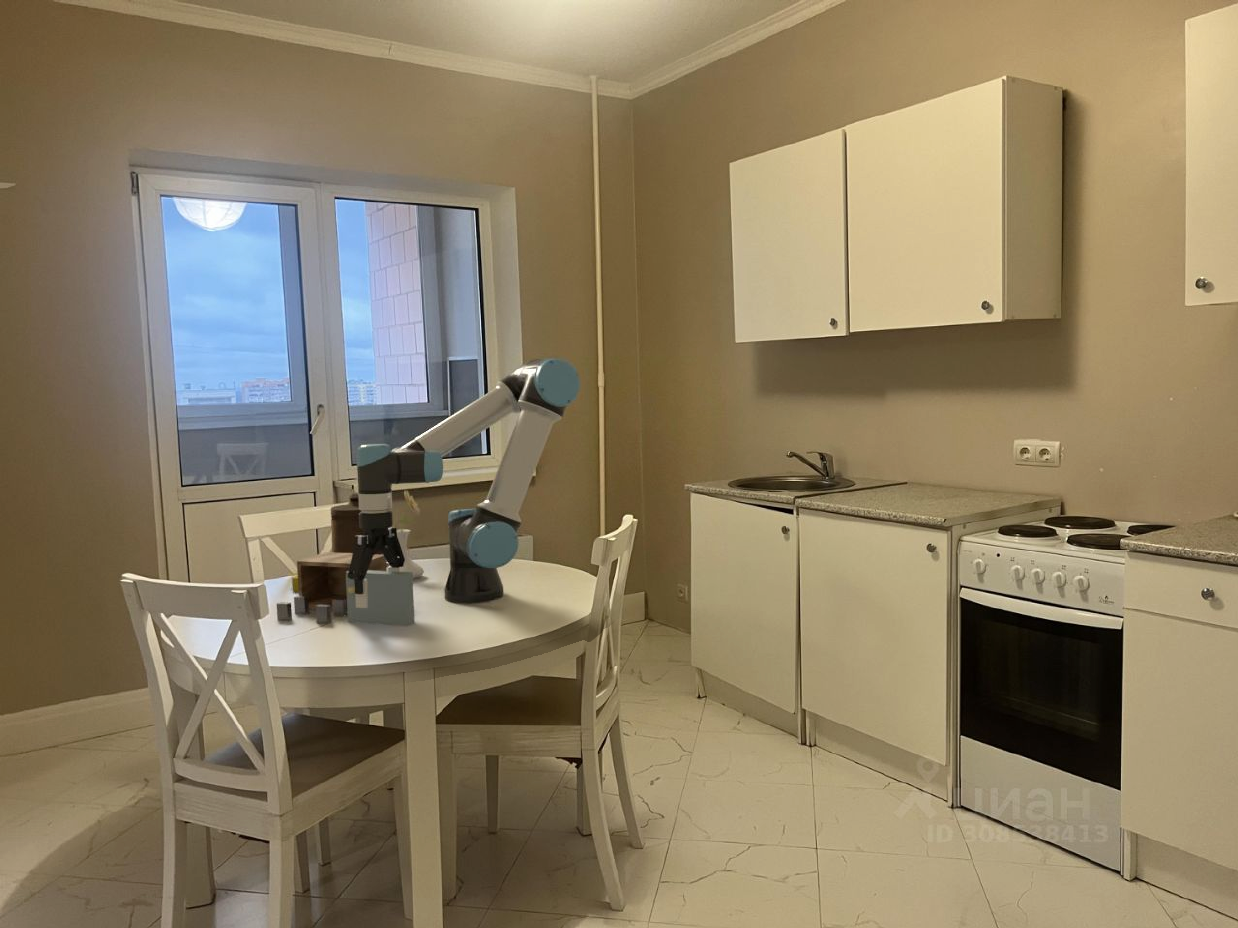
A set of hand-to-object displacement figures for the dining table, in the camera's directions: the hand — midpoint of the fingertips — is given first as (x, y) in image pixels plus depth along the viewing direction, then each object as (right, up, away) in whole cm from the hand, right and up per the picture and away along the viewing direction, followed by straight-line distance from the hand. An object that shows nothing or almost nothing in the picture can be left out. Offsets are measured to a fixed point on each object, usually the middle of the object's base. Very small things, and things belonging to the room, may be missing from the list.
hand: (378, 600), depth 219 cm
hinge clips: (-18, -5, +7) cm, 19 cm away
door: (0, -5, +1) cm, 5 cm away
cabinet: (-14, -4, +19) cm, 24 cm away
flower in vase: (-5, -1, +49) cm, 49 cm away
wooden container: (-24, +1, +70) cm, 74 cm away
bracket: (-28, -3, +40) cm, 49 cm away
